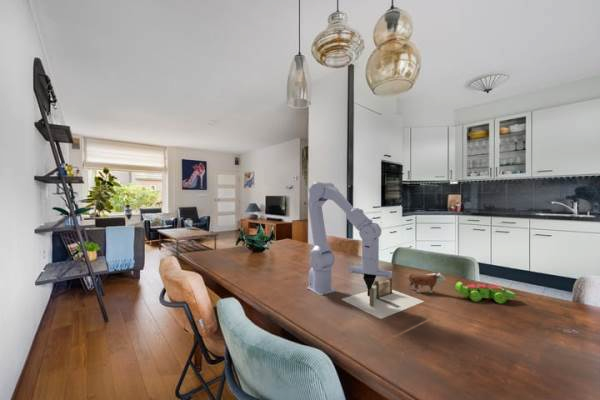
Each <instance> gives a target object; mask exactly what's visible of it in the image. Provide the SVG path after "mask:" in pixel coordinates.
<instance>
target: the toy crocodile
mask: <svg viewBox="0 0 600 400" xmlns="http://www.w3.org/2000/svg"><path fill="white" fill-rule="evenodd" d="M454 289H455V290H454V291H456V292H457V293H459V294H460V295H462V296H464V297H469V299H471V301H473V302H475V303H476V302H477V303H478V302H480V301H481V300H482V299H483V298H484V299H493V300H494V301H495V302H496V303H498V304H504V303H506V302H507V300H514V299H515V298H517V296H518V295H517V294H516V293H515V292H513V291H511V290H509V289H504V288H503V287H500V286H497V285H490V284H488V285H486V284H484V283H482V284H481V283H477V284H476V285H475V284H474V283H472V284H471V283H470V284H466V285H464V283H463V282H462V281H457V282H456V284H455V286H454Z"/></svg>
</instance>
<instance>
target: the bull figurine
mask: <svg viewBox="0 0 600 400" xmlns="http://www.w3.org/2000/svg"><path fill="white" fill-rule="evenodd" d="M408 279H409V287H410V290H412V291H415V290H416V292H417V293H419V294H420V293H422V292H421V290H420V289H419V285H420V287H421V288H423V287H426V286H427V287H429V293H430V294H433V293H434V292H435V291H434V287H436V286H437V285H438V284H439V283H441V282H443V283H444V282H446V281H447V279H446V278H445V277H444V275H443V274H441V272H438V273H435V272H433V273H427V274H422V273H421V274H418V273H411V274H409V276H408Z"/></svg>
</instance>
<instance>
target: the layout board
mask: <svg viewBox="0 0 600 400" xmlns="http://www.w3.org/2000/svg"><path fill="white" fill-rule="evenodd" d="M341 301H344V302H345V303H347V304H350V305H351V306H353V307H354V308H355V307H356V308H358V309H360V310H362V311H364V312H365V313H367V314H369V315H371V316H374V317H375V318H377V319H380V320H382V319H384V318H388V317H390V316H393V315H394V314H397V313H399V312H401V311H404V310H407V309H409V308H411V307H414V306H417V305H419V304H421V303H422V304H423V303H424V302H425V300H422V299H419V298H416V297H413V296H411V295H408V294H406V293H402V292H399V291H397V290H394V289H392V293H387V294H384V295H381V296H379V298H376V300H375V302H374V306H370V296H368V290H367V291H365V292H364V291H363V292H361V293H357V294H354V295H351V296H346V297H344V298H341Z"/></svg>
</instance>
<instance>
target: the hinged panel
mask: <svg viewBox="0 0 600 400" xmlns="http://www.w3.org/2000/svg"><path fill="white" fill-rule="evenodd" d="M376 295H377V286H376V285H374V286H373V285H372V288H370V306H374V302H375V300H376Z"/></svg>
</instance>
